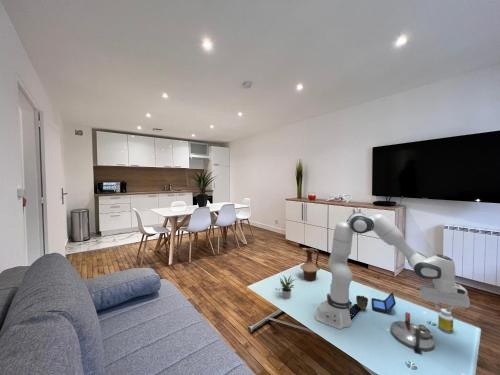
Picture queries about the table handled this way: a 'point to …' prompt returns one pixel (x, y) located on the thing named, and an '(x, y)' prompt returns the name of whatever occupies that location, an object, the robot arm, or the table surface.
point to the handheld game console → (383, 304)
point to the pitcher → (310, 265)
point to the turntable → (409, 333)
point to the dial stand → (417, 339)
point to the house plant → (286, 287)
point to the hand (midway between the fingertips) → (443, 310)
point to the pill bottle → (445, 321)
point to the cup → (362, 302)
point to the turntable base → (411, 346)
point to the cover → (424, 332)
